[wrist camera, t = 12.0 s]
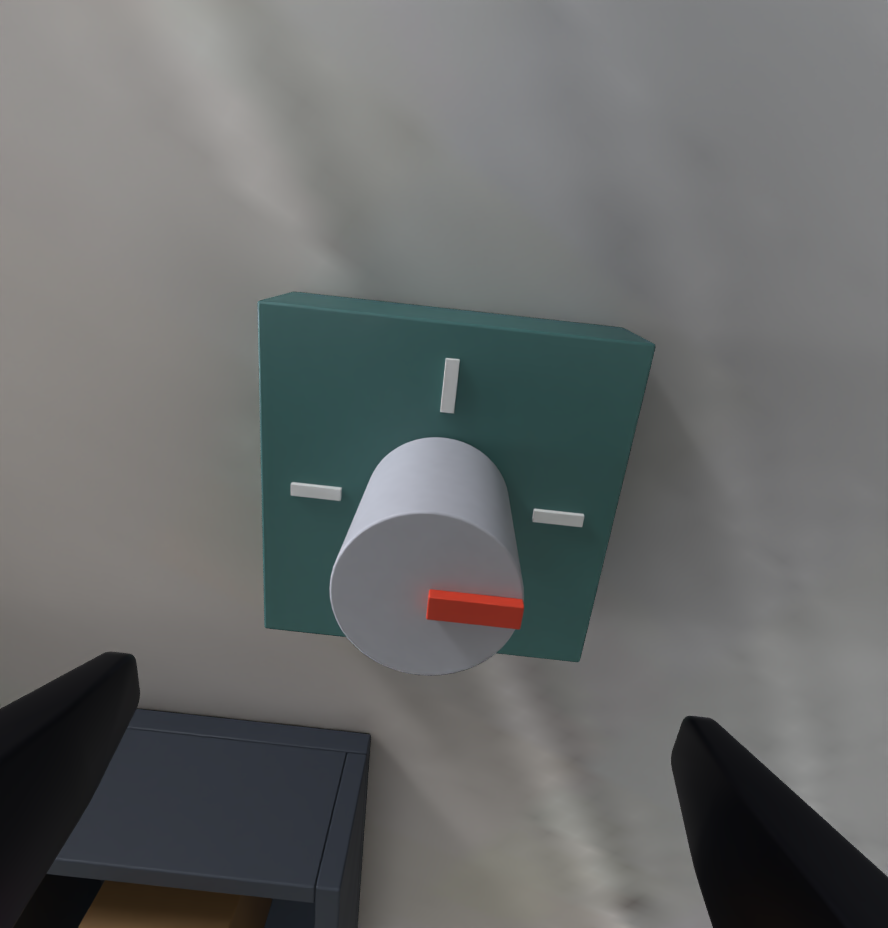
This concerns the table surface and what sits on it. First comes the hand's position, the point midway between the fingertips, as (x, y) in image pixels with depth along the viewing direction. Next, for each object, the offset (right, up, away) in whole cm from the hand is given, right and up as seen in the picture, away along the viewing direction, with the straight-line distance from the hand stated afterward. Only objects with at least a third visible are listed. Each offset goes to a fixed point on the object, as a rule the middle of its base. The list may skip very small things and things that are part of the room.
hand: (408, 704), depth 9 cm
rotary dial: (+1, +4, +9) cm, 10 cm away
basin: (-9, -13, +16) cm, 23 cm away
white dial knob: (0, +3, +6) cm, 7 cm away
